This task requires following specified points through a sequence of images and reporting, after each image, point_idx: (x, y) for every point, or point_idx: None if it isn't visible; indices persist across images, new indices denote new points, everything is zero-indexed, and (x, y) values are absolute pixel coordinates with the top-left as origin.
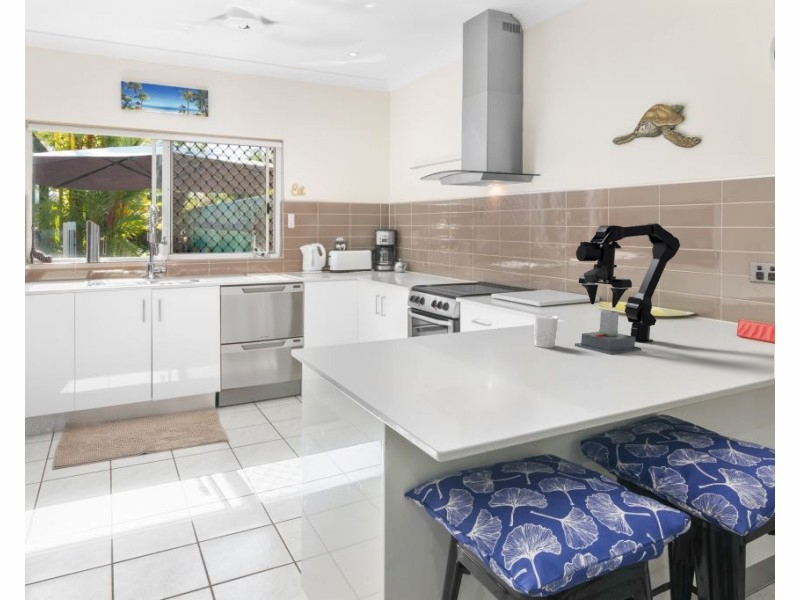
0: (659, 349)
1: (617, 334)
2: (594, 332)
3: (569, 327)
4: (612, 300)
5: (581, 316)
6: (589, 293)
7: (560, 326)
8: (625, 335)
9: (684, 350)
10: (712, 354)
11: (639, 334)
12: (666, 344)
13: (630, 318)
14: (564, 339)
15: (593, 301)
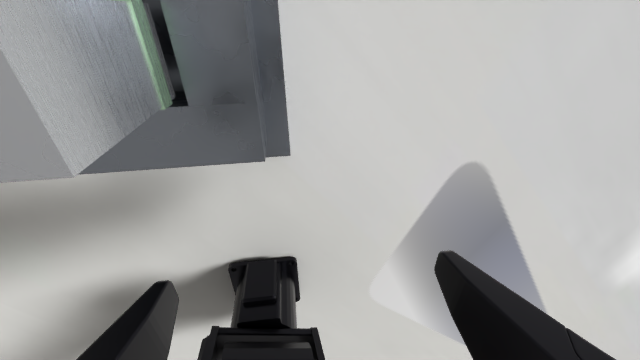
0: (101, 241)
1: (141, 139)
2: (241, 46)
3: (553, 232)
4: (107, 357)
5: None
6: (572, 356)
7: (588, 217)
8: (101, 158)
9: (78, 295)
10: (4, 322)
11: (242, 287)
12: (187, 306)
13: (311, 346)
14: (438, 2)
15: (450, 288)
